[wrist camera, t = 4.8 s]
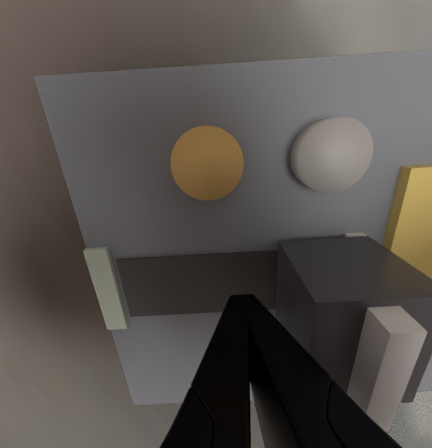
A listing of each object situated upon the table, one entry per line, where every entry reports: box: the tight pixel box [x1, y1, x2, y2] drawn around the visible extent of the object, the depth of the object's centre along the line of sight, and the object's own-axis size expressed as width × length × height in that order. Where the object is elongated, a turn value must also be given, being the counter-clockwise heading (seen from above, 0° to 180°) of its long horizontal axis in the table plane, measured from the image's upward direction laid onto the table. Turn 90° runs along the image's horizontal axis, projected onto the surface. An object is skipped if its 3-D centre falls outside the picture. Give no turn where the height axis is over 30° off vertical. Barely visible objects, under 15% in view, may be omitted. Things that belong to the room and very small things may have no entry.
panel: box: [33, 50, 432, 405], centre depth 9 cm, size 14×19×2 cm
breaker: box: [275, 236, 432, 431], centre depth 7 cm, size 4×3×4 cm
